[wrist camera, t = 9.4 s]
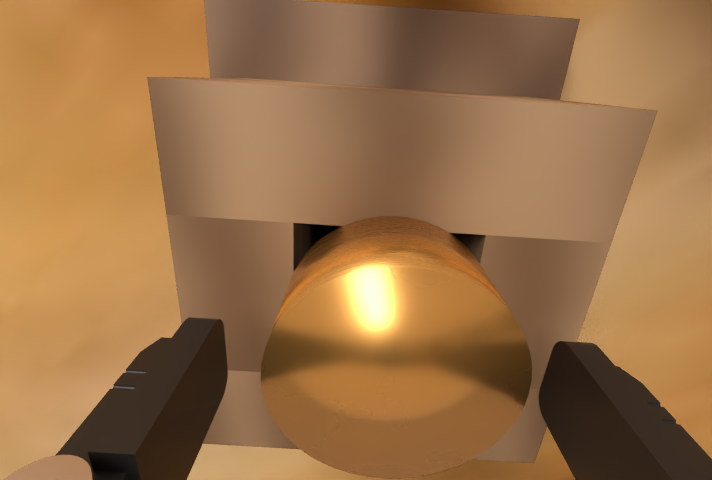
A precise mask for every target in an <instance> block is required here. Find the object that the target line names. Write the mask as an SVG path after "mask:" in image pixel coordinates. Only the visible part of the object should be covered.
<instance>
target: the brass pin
mask: <svg viewBox="0 0 712 480" xmlns="http://www.w3.org/2000/svg"><path fill="white" fill-rule="evenodd" d="M531 382H532V361H531V353H530V350H529V347H528V343H527V340H526V338H525V336H524V334H523V332H522V330H521V328H520V326H519V324H518V323H517V321H516V320H515V318H514V316H513V315H512V313H511V312H510V310H509V309H508V307H507V305H506V304H505V302H504V301H503V299H502V298H501V296H500V294H499V293H498V291H497V290H496V288H495V286H494V285H493V283H492V282H491V280H490V279H489V277H488V275H487V274H486V272H485V271H484V269H483V268H482V266H481V264H480V263H479V261H478V260H477V258H476V257H475V256H474V254H473V253H472V252H471V250H470V249H469V248H468V247H467V246H466V245H465V244H464V243H463V242H462V241H460V240H459V239H458V238H456V237H455V236H454V235H452V234H451V233H449V232H447V231H446V230H444V229H442V228H440V227H438V226H436V225H433V224H431V223H428V222H426V221H422V220H418V219H414V218H408V217H400V216H380V217H372V218H366V219H362V220H358V221H354V222H351V223H349V224H346V225H344V226H336V225H335V228H334V231H332V232H330V233H328V234H327V235H325V236H324V237H323V238H321V239H320V240H318V241H317V242H316V243H315V244H314V245H313V246H312V247H311V248H310V249H309V250H308V251H307V252H306V253H305V255H304V256H303V257H302V258H301V260H300V261H299V263H298V265H297V266H296V268H295V270H294V271H293V274H292V277H291V279H290V282H289V284H288V287H287V290H286V293H285V295H284V298H283V301H282V304H281V306H280V309H279V312H278V314H277V317H276V320H275V323H274V325H273V328H272V331H271V334H270V336H269V339H268V342H267V344H266V347H265V350H264V354H263V358H262V363H261V387H262V393H263V397H264V400H265V403H266V406H267V408H268V410H269V413H270V415H271V417H272V418H273V420H274V421H275V423H276V424H277V426H278V427H279V429H280V430H281V431H282V432H283V433H284V435H285V436H286V437H287V438H288V439H289V440H290V441H291V442H292V443H294V444H295V445H296V446H297V447H298V448H299V449H301V450H302V451H304V452H305V453H307V454H308V455H309V456H311V457H313V458H315V459H316V460H318V461H320V462H322V463H324V464H326V465H329V466H331V467H334V468H336V469H339V470H342V471H345V472H349V473H352V474H357V475H362V476H367V477H376V478H411V477H419V476H425V475H430V474H434V473H438V472H442V471H445V470H448V469H451V468H453V467H456V466H459V465H461V464H463V463H465V462H467V461H469V460H471V459H473V458H475V457H477V456H478V455H480V454H481V453H483V452H485V451H486V450H487V449H489V448H490V447H491V446H493V445H494V444H495V443H496V442H498V441H499V440H500V439H501V438H502V437H503V436H504V435H505V434H506V433H507V432H508V430H509V429H510V428H511V427H512V425H513V424H514V423H515V421H516V420H517V418H518V417H519V415H520V413H521V411H522V410H523V408H524V405H525V403H526V400H527V398H528V395H529V391H530V386H531Z"/></svg>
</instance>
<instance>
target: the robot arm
mask: <svg viewBox="0 0 712 480" xmlns="http://www.w3.org/2000/svg"><path fill="white" fill-rule="evenodd" d="M227 378H228V366H227V354H226V343H225V332H224V324H223V321H222V320H221V319H209V318H193V317H189V318H187V319H186V320H185V321H184V322H183V323H182V325H181V326H180V327H179V329H178V330H177V332H176V333H175V334H174V336H173V337H172V338H160V339H159V340H157V341H156V342H154V343H153V344H151V345H150V346H148V347H147V348H146V349H144V350H143V351H141V352H140V353H139V354H138V356H137V357H136V358H135V359H134V360H133V362H132V363H131V364H130V365H129V367H128V368H127V369H126V373H123V374H122V375H121V376H120V378H119V379H118V380H117V381H116V382H115V384H114V387H113V389H110V390H109V391H108V392H107V393H106V395H105V396H104V397H103V398H102V400H101V401H100V402H99V403H98V404H97V406H96V407H95V408H94V409H93V411H92V412H91V413H90V414H89V415H88V417H87V418H86V419H85V420H84V422H83V423H82V424H81V425H80V426H79V428H78V429H77V430H76V431H75V432H74V434H73V435H72V436H71V437H70V439H69V440H68V441H67V442H66V443H65V445H64V446H63V447H62V448H61V450H60V451H59V452H58V453H57V454H56V455H55V456H51V457H47V458H44V459H41V460H38V461H35V462H33V463H31V464H28V465H26V466H24V467H22V468H21V469H19V470H17V471H15V472H14V473H12V474H11V475H9V476H8V477H6V478H5V479H4V480H187V477H188V475H189V473H190V471H191V468H192V466H193V464H194V462H195V459H196V457H197V455H198V453H199V450H200V448H201V446H202V444H203V441H204V439H205V437H206V435H207V432H208V430H209V428H210V425H211V423H212V421H213V419H214V416H215V414H216V412H217V410H218V407H219V405H220V403H221V401H222V398H223V396H224V393H225V389H226V385H227ZM539 407H540V411H541V414H542V417H543V419H544V421H545V423H546V425H547V426H548V428H549V430H550V432H551V434H552V436H553V438H554V440H555V442H556V443H557V445H558V447H559V449H560V451H561V453H562V455H563V457H564V459H565V460H566V462H567V464H568V466H569V468H570V470H571V472H572V474H573V475H574V477H575V479H576V480H712V459H711V458H710V457H709V456H708V455H707V454H706V452H705V451H704V450H703V449H702V448H701V447H700V446H699V445H698V444H697V443H696V442H695V440H694V439H693V438H692V437H691V436H690V435H689V434H688V433H687V432H686V431H685V430H684V428H683V427H682V426H681V425H679V424H676V420H675V419H674V418H673V416H672V415H671V414H670V413H669V412H668V411H667V410H666V409H665V408H664V407H661V406H660V402H659V401H658V400H657V399H656V398H655V397H654V396H653V395H652V394H651V393H650V391H649V390H648V389H647V388H646V387H645V386H644V385H643V384H642V383H641V382H639V381H638V380H637V379H635V378H634V377H632V376H631V375H630V374H628V373H627V372H625V371H624V370H622V369H621V368H620V367H617V366H615V365H614V364H613V363H612V362H611V361H610V360H609V359H608V357H607V356H606V355H605V354H604V353H603V352H602V351H601V349H600V348H599V347H598V346H597V345H595V344H593V343H583V342H567V341H559V342H557V343H556V344H555V345H554V347H553V349H552V352H551V355H550V358H549V361H548V365H547V368H546V371H545V374H544V377H543V380H542V383H541V386H540V390H539Z"/></svg>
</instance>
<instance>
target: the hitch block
mask: <svg viewBox="0 0 712 480" xmlns="http://www.w3.org/2000/svg"><path fill="white" fill-rule="evenodd" d="M204 6H205V18H206V30H207V43H208V55H209V67H210V78H182V77H147V79H148V86H149V93H150V100H151V107H152V114H153V121H154V129H155V136H156V143H157V150H158V157H159V164H160V171H161V178H162V186H163V193H164V200H165V207H166V214H167V221H168V228H169V236H170V243H171V250H172V257H173V264H174V271H175V278H176V286H177V293H178V300H179V307H180V314H181V321H182V323H183V322H184V321H185V320H186V319H187V318H189V317H193V318H209V319H221V320H222V321H223V324H224V332H225V343H226V354H227V366H228V378H227V385H226V389H225V393H224V396H223V398H222V401H221V403H220V405H219V407H218V410H217V412H216V414H215V416H214V419H213V421H212V423H211V425H210V428H209V430H208V432H207V435H206V437H205V439H204V441H203V444H219V445H236V446H253V447H270V448H287V449H299V448H298V447H297V446H296V445H295V444H294V443H292V442H291V441H290V440H289V439H288V438H287V437H286V436H285V435H284V433H283V432H282V431H281V430H280V429H279V427H278V426H277V424H276V423H275V421H274V420H273V418H272V417H271V415H270V413H269V410H268V408H267V406H266V403H265V400H264V397H263V393H262V387H261V363H262V358H263V354H264V350H265V347H266V344H267V342H268V339H269V336H270V334H271V331H272V328H273V325H274V323H275V320H276V317H277V314H278V312H279V309H280V306H281V304H282V301H283V298H284V295H285V293H286V290H287V287H288V284H289V282H290V279H291V277H292V274H293V271H294V270H295V268H296V266H297V265H298V263H299V261H300V260H301V258H302V257H303V256H304V255H305V253H306V252H307V251H308V250H309V249H310V248H311V247H312V246H313V245H314V244H315V243H316V242H317V241H318V240H320V239H321V238H323V237H324V236H325V235H327V234H328V233H330V232H332V231H334V228H335V225H336V226H344V225H346V224H349V223H351V222H354V221H358V220H362V219H366V218H372V217H380V216H400V217H408V218H414V219H418V220H422V221H426V222H428V223H431V224H433V225H436V226H438V227H440V228H442V229H444V230H446V231H447V232H449V233H451V234H452V235H454V236H455V237H456V238H458V239H459V240H460V241H462V242H463V243H464V244H465V245H466V246H467V247H468V248H469V249H470V250H471V252H472V253H473V254H474V256H475V257H476V258H477V260H478V261H479V263H480V264H481V266H482V268H483V269H484V271H485V272H486V274H487V275H488V277H489V279H490V280H491V282H492V283H493V285H494V286H495V288H496V290H497V291H498V293H499V294H500V296H501V298H502V299H503V301H504V302H505V304H506V305H507V307H508V309H509V310H510V312H511V313H512V315H513V316H514V318H515V320H516V321H517V323H518V324H519V326H520V328H521V330H522V332H523V334H524V336H525V338H526V340H527V343H528V347H529V350H530V353H531V361H532V382H531V386H530V391H529V395H528V398H527V400H526V403H525V405H524V408H523V410H522V411H521V413H520V415H519V417H518V418H517V420H516V421H515V423H514V424H513V425H512V427H511V428H510V429H509V430H508V432H507V433H506V434H505V435H504V436H503V437H502V438H501V439H500V440H499V441H498V442H496V443H495V444H494V445H493V446H491V447H490V448H489V449H487V450H486V451H485V452H483V453H481V454H480V455H478V456H477V457H475V458H473V459H472V460H489V461H506V462H523V463H534V462H535V459H536V456H537V454H538V451H539V448H540V445H541V442H542V439H543V436H544V434H545V431H546V428H547V425H546V423H545V421H544V419H543V417H542V414H541V411H540V407H539V390H540V386H541V383H542V380H543V377H544V374H545V371H546V368H547V365H548V361H549V358H550V355H551V352H552V349H553V347H554V345H555V344H556V343H557V342H559V341H567V342H577V339H578V337H579V334H580V331H581V328H582V325H583V322H584V319H585V317H586V314H587V311H588V308H589V305H590V302H591V299H592V297H593V294H594V291H595V288H596V285H597V282H598V279H599V277H600V274H601V271H602V268H603V265H604V262H605V260H606V257H607V254H608V251H609V248H610V245H611V242H612V240H613V237H614V234H615V231H616V228H617V225H618V222H619V220H620V217H621V214H622V211H623V208H624V205H625V202H626V200H627V197H628V194H629V191H630V188H631V185H632V182H633V180H634V177H635V174H636V171H637V168H638V165H639V162H640V160H641V157H642V154H643V151H644V148H645V145H646V143H647V140H648V137H649V134H650V131H651V128H652V125H653V123H654V120H655V117H656V114H657V111H656V110H646V109H637V108H627V107H618V106H608V105H599V104H589V103H580V102H570V101H561V100H560V96H561V92H562V88H563V84H564V80H565V76H566V72H567V68H568V64H569V60H570V56H571V52H572V48H573V44H574V40H575V36H576V32H577V28H578V25H579V21H580V19H572V18H557V17H543V16H528V15H513V14H498V13H483V12H468V11H454V10H439V9H424V8H409V7H394V6H379V5H365V4H350V3H335V2H320V1H305V0H204Z"/></svg>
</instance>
